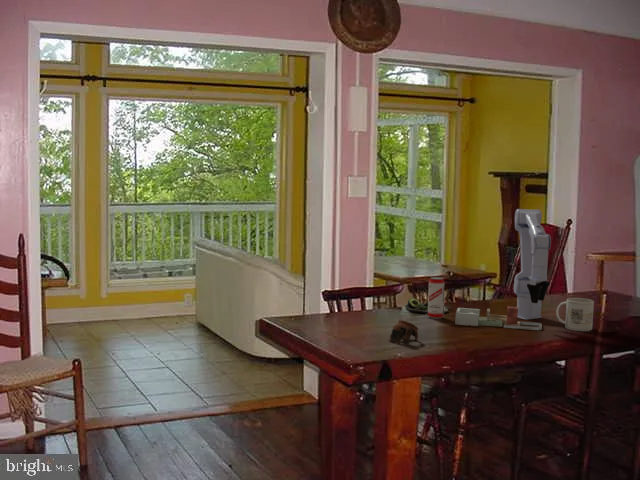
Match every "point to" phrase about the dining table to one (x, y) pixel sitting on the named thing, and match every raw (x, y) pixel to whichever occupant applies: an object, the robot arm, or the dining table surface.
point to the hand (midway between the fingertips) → (537, 301)
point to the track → (499, 324)
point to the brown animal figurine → (403, 332)
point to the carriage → (509, 319)
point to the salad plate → (419, 307)
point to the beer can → (436, 298)
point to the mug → (578, 314)
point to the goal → (467, 316)
